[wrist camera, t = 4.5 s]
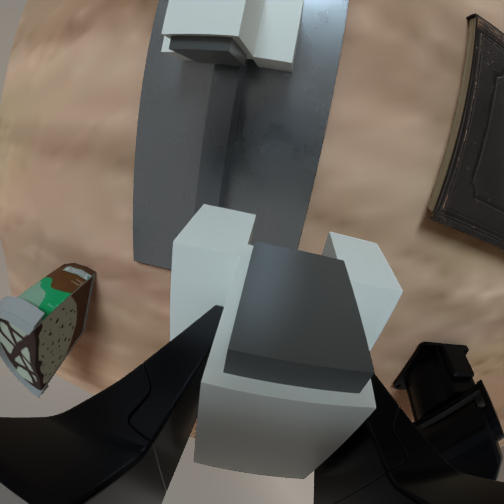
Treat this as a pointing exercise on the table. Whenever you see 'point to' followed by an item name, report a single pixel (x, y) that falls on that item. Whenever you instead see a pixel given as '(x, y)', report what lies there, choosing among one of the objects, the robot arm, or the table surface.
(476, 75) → the hardcover book
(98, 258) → the table surface
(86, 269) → the food container
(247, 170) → the rail
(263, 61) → the block
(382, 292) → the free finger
